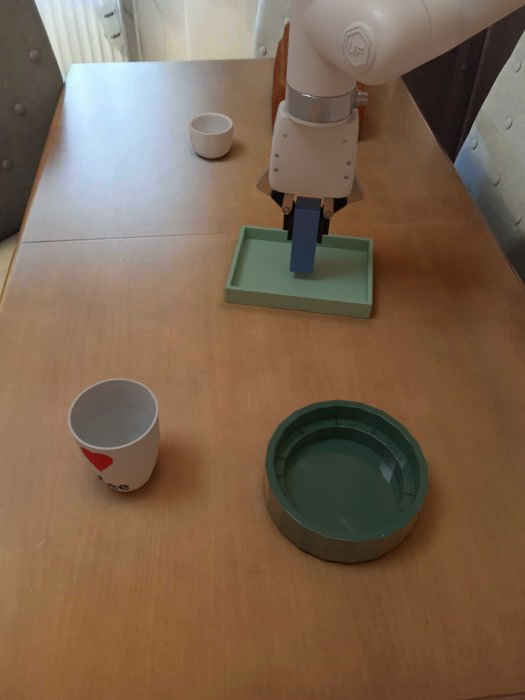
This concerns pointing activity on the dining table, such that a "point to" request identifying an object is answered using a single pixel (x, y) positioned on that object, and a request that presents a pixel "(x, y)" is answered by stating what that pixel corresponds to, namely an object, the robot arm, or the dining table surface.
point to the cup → (117, 431)
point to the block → (305, 234)
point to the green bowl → (344, 480)
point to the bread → (281, 76)
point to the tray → (302, 274)
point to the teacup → (211, 134)
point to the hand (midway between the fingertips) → (305, 234)
